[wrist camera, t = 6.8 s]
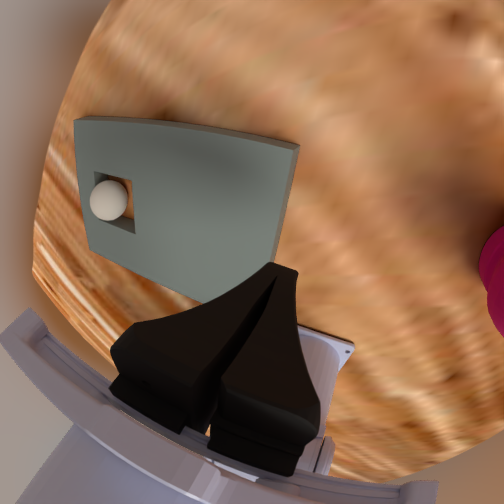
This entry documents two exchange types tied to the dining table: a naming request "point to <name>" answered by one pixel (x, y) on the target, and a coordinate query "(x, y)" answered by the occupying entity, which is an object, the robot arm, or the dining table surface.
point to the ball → (108, 200)
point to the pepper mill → (494, 277)
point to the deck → (186, 200)
